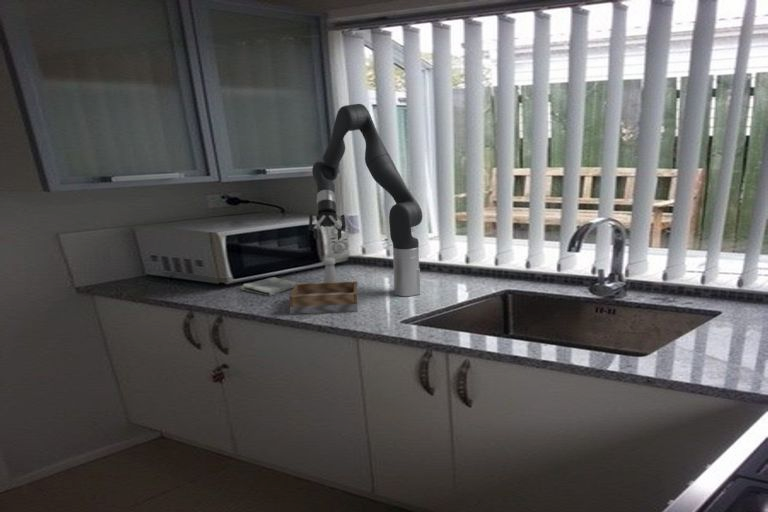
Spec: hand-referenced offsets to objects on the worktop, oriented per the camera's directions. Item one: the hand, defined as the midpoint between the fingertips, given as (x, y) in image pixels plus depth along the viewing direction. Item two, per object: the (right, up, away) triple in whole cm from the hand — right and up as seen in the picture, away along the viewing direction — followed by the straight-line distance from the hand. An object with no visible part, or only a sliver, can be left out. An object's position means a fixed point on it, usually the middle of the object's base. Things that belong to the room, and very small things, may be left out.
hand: (327, 238), depth 201 cm
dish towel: (-23, -20, +4) cm, 30 cm away
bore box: (+2, -24, -22) cm, 32 cm away
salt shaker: (+2, -20, -5) cm, 21 cm away
